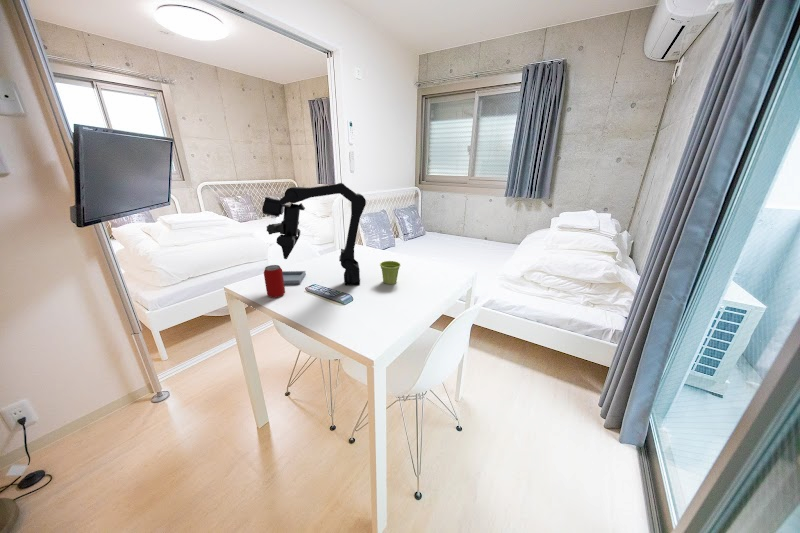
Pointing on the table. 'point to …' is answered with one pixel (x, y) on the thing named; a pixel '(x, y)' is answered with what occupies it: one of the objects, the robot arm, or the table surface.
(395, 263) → the plant pot
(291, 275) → the slate tray
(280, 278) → the beverage can
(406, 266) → the table surface
